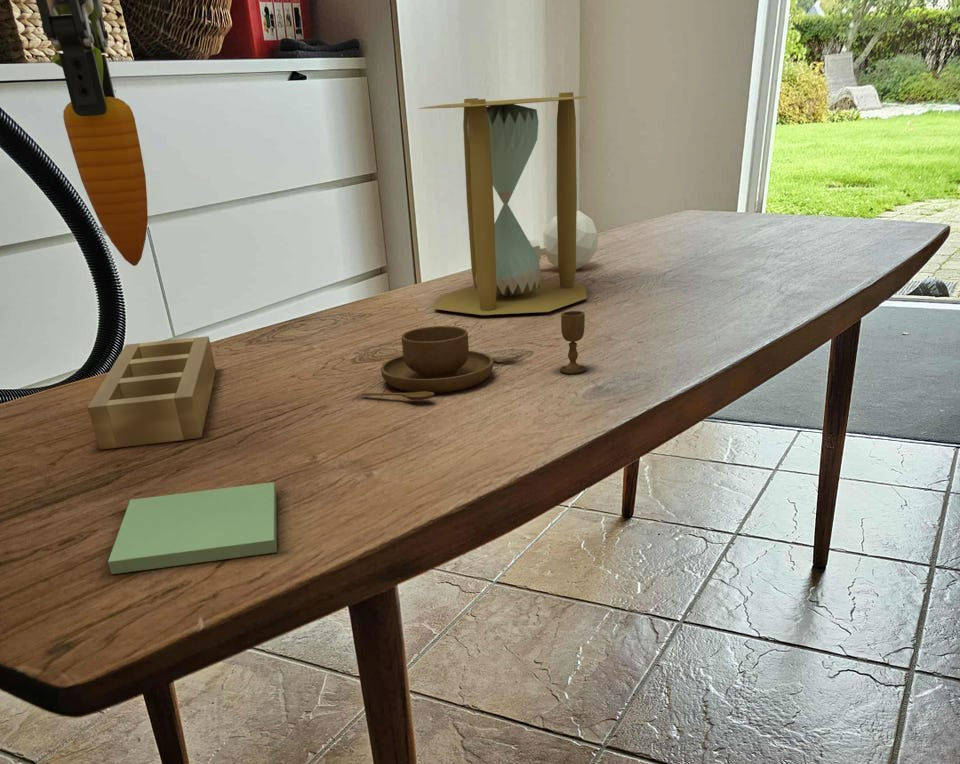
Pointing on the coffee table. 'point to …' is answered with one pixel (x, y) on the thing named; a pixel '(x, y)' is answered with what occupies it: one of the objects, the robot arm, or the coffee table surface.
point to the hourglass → (502, 244)
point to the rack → (154, 394)
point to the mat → (196, 528)
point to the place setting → (457, 359)
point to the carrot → (111, 169)
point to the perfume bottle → (584, 241)
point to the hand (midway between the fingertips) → (97, 113)
